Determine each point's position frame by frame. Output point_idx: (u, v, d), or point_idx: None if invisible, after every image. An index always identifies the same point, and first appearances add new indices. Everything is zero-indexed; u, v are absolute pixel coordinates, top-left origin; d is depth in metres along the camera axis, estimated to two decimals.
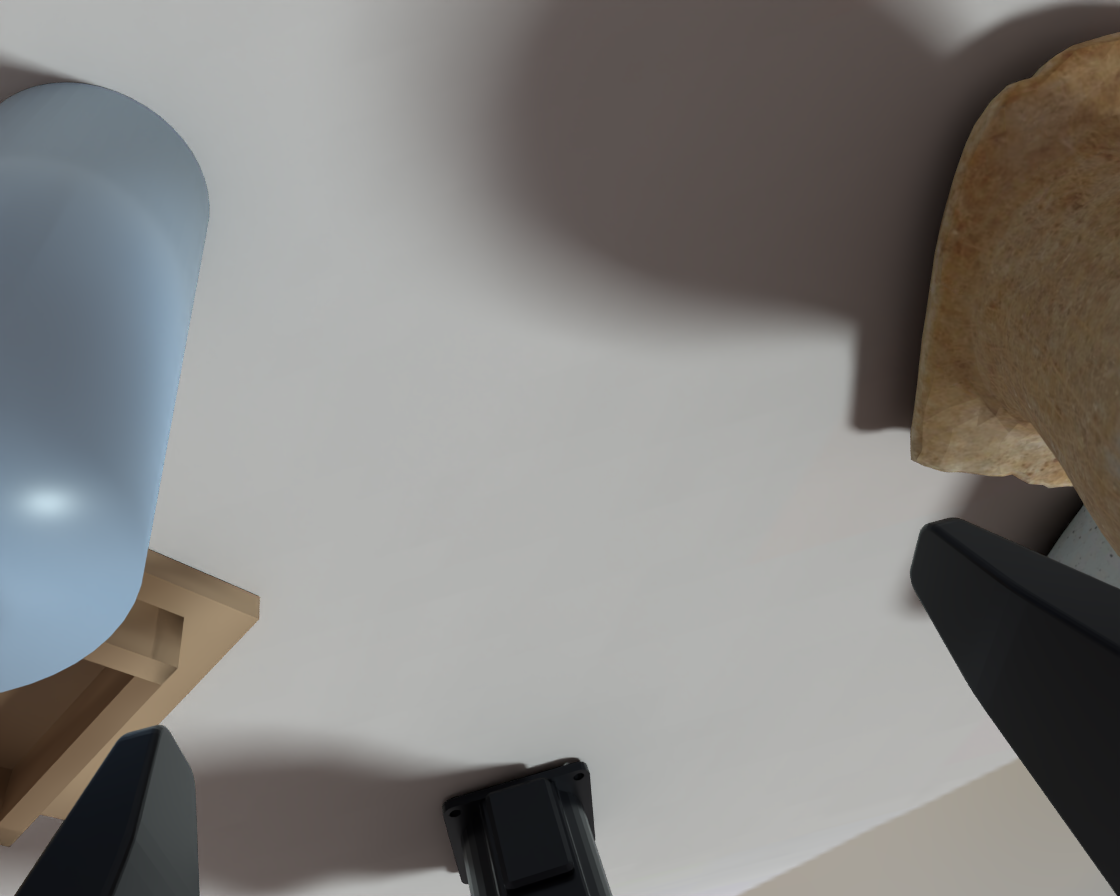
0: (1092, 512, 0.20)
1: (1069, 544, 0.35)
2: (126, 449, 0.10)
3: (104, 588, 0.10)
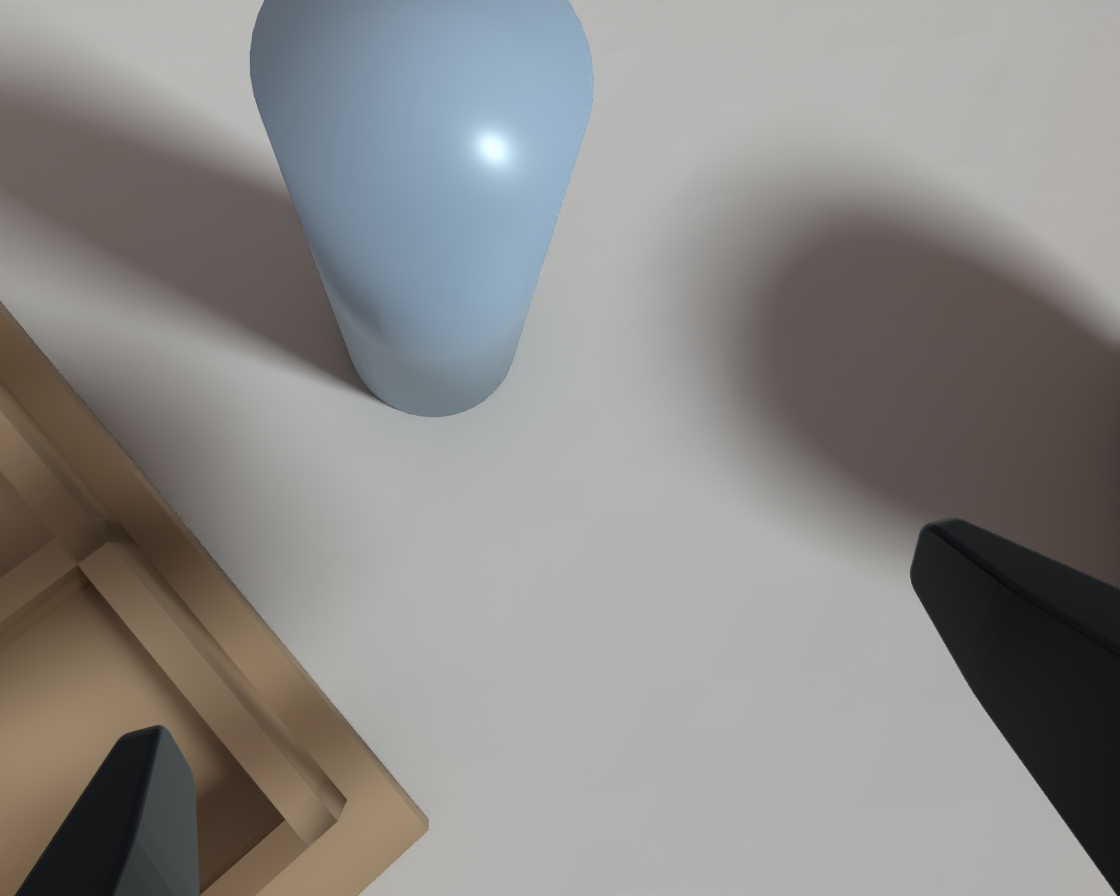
0: None
1: None
2: None
3: (545, 147, 0.12)
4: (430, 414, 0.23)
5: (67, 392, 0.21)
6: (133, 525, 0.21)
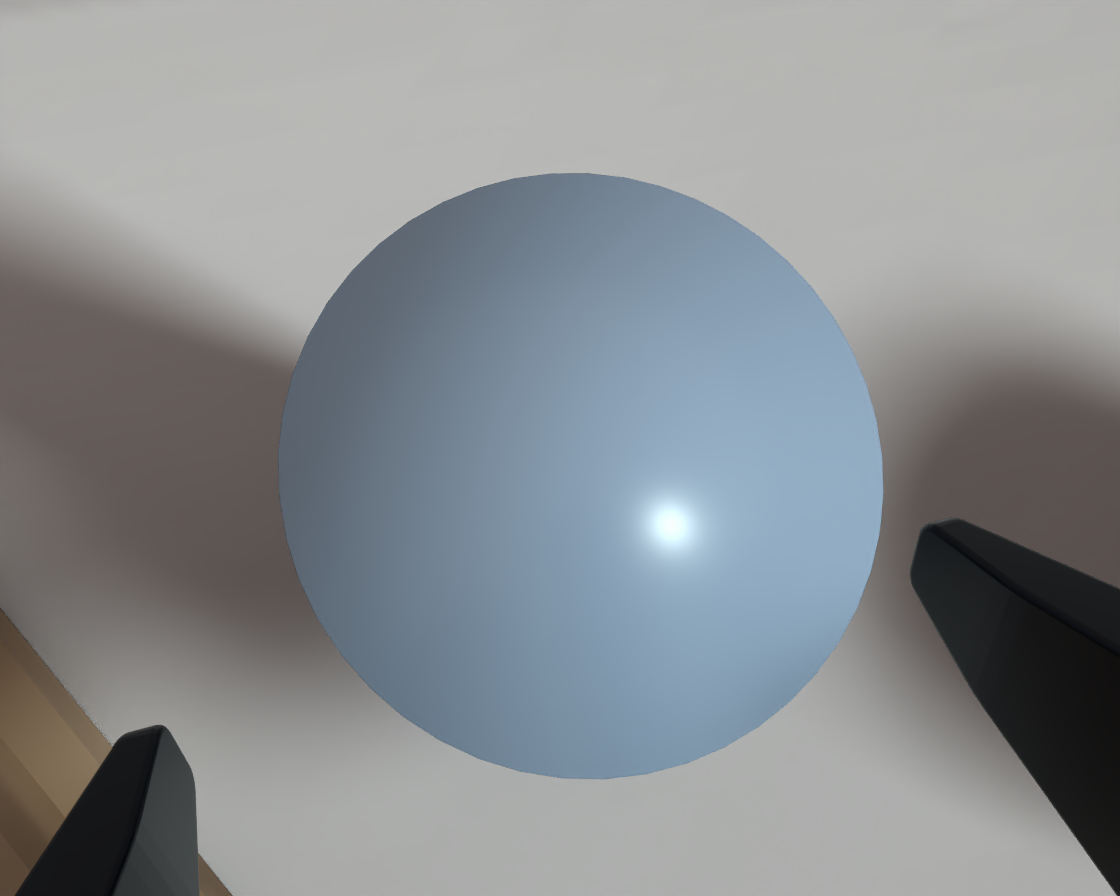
0: None
1: None
2: None
3: (808, 597, 0.07)
4: None
5: (20, 663, 0.16)
6: None
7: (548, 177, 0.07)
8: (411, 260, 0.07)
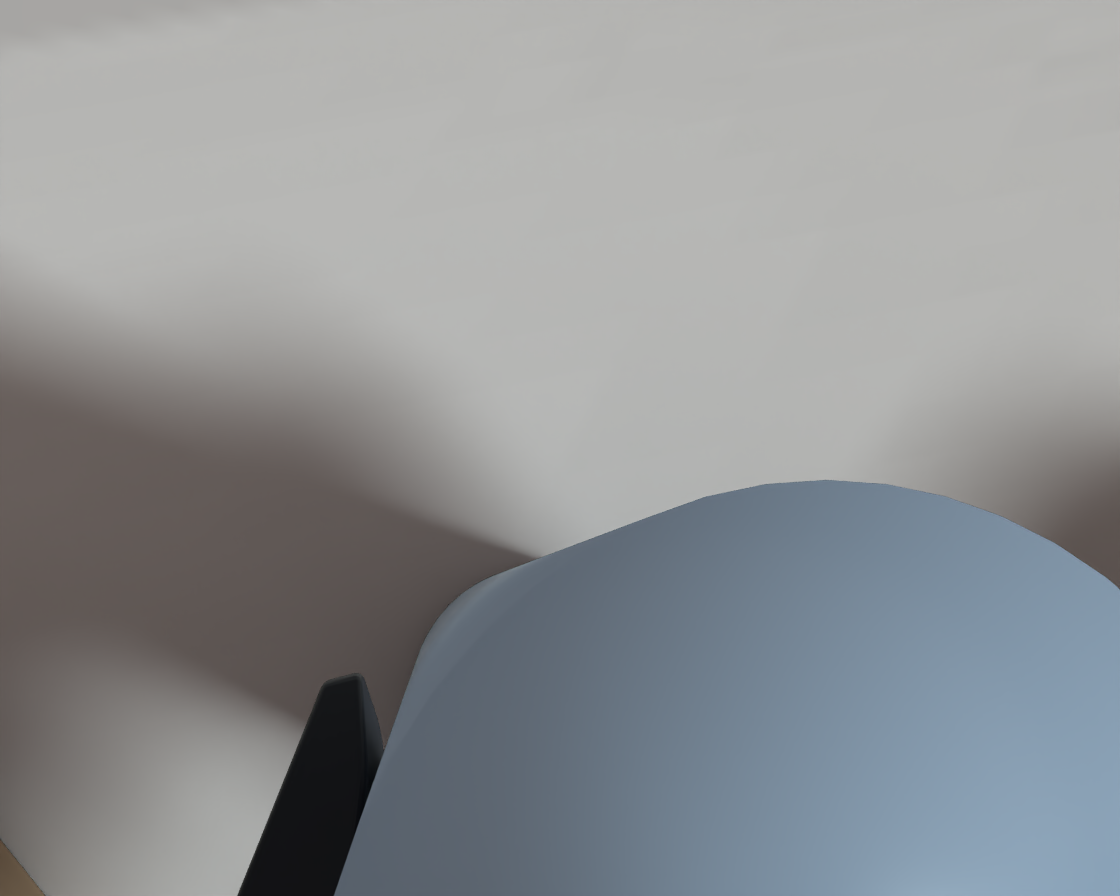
0: None
1: None
2: None
3: None
4: None
5: None
6: None
7: (756, 486, 0.04)
8: (537, 666, 0.04)
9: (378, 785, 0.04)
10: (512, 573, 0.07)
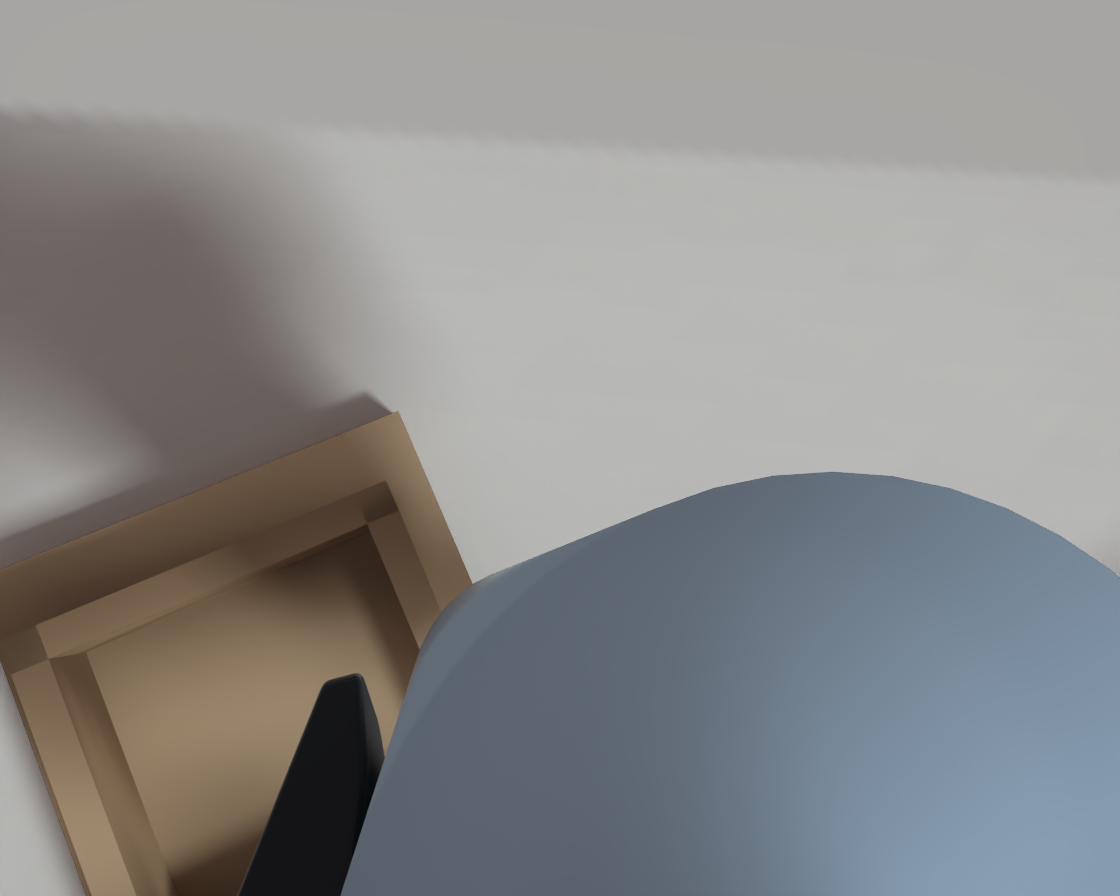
0: None
1: None
2: None
3: None
4: None
5: None
6: None
7: (764, 478, 0.04)
8: (544, 653, 0.04)
9: (388, 773, 0.04)
10: (515, 568, 0.08)
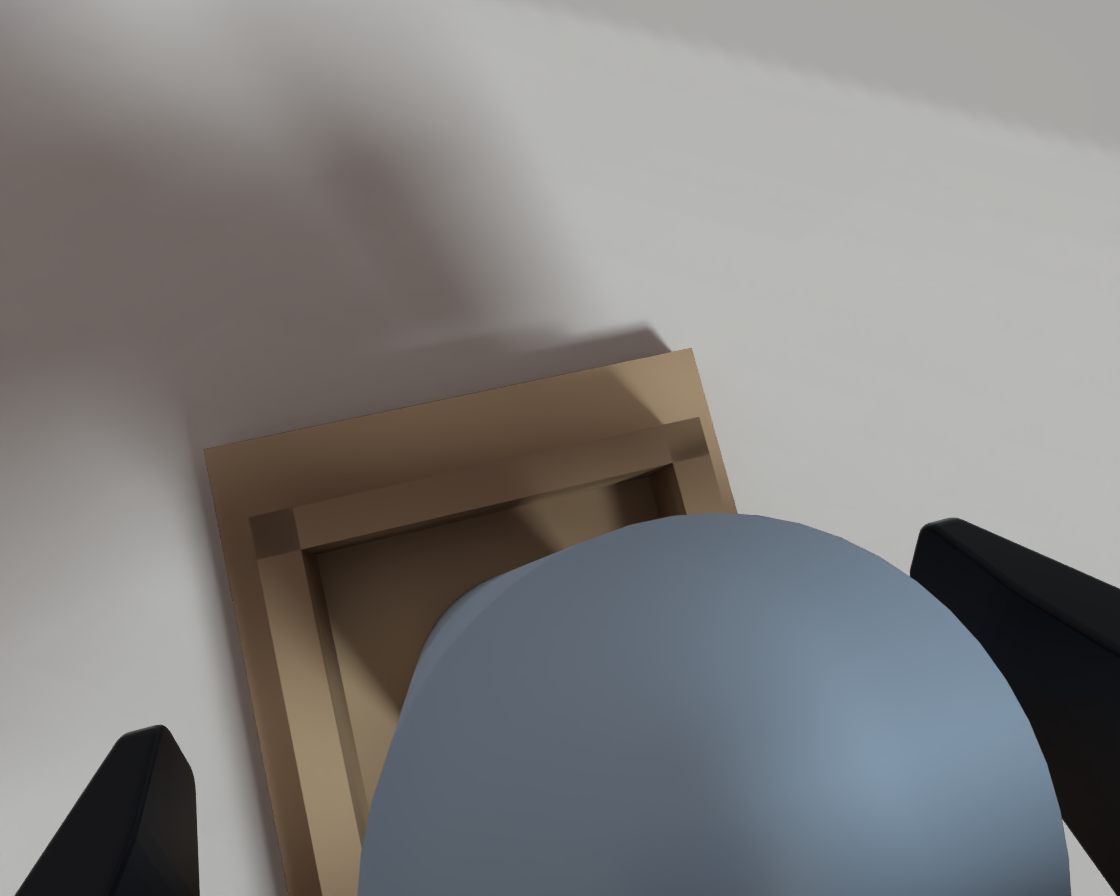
0: None
1: None
2: None
3: None
4: None
5: None
6: None
7: (667, 518, 0.06)
8: (509, 639, 0.05)
9: (402, 722, 0.05)
10: (501, 577, 0.09)
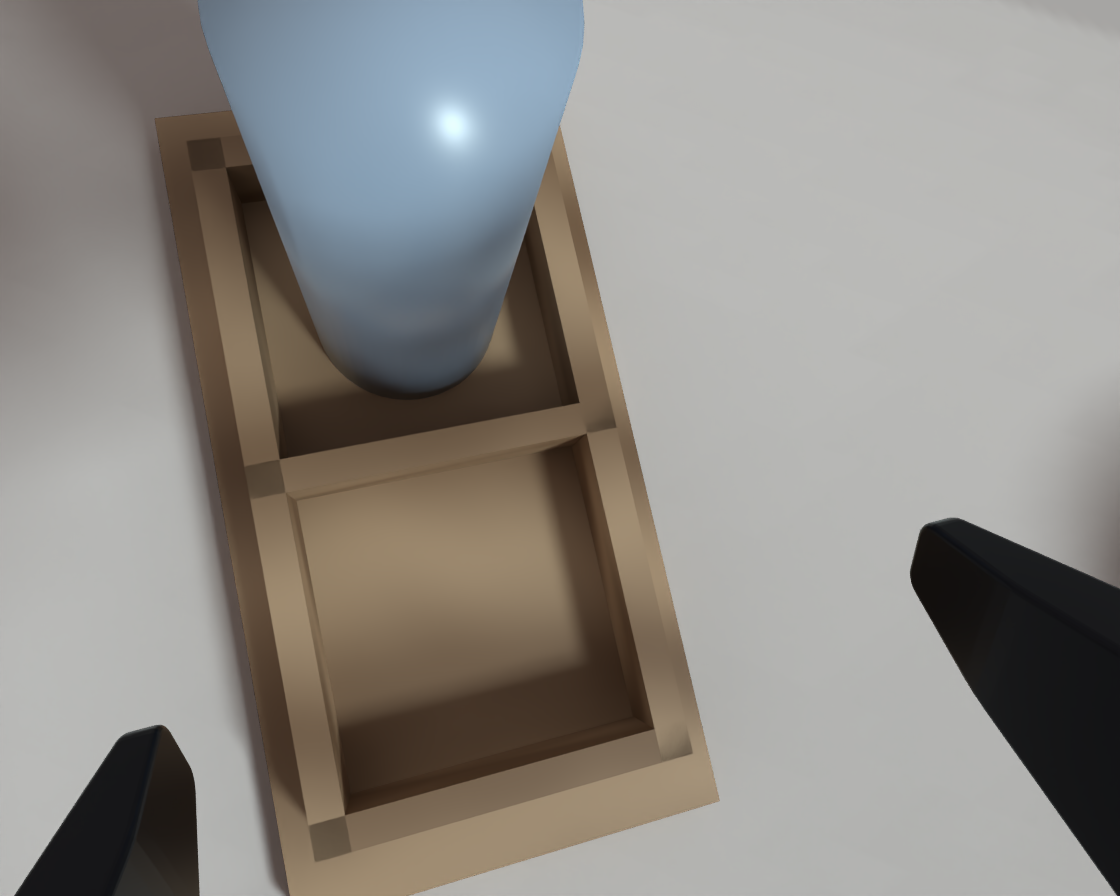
0: None
1: None
2: None
3: (529, 96, 0.11)
4: (401, 397, 0.22)
5: (597, 289, 0.24)
6: None
7: None
8: None
9: None
10: None
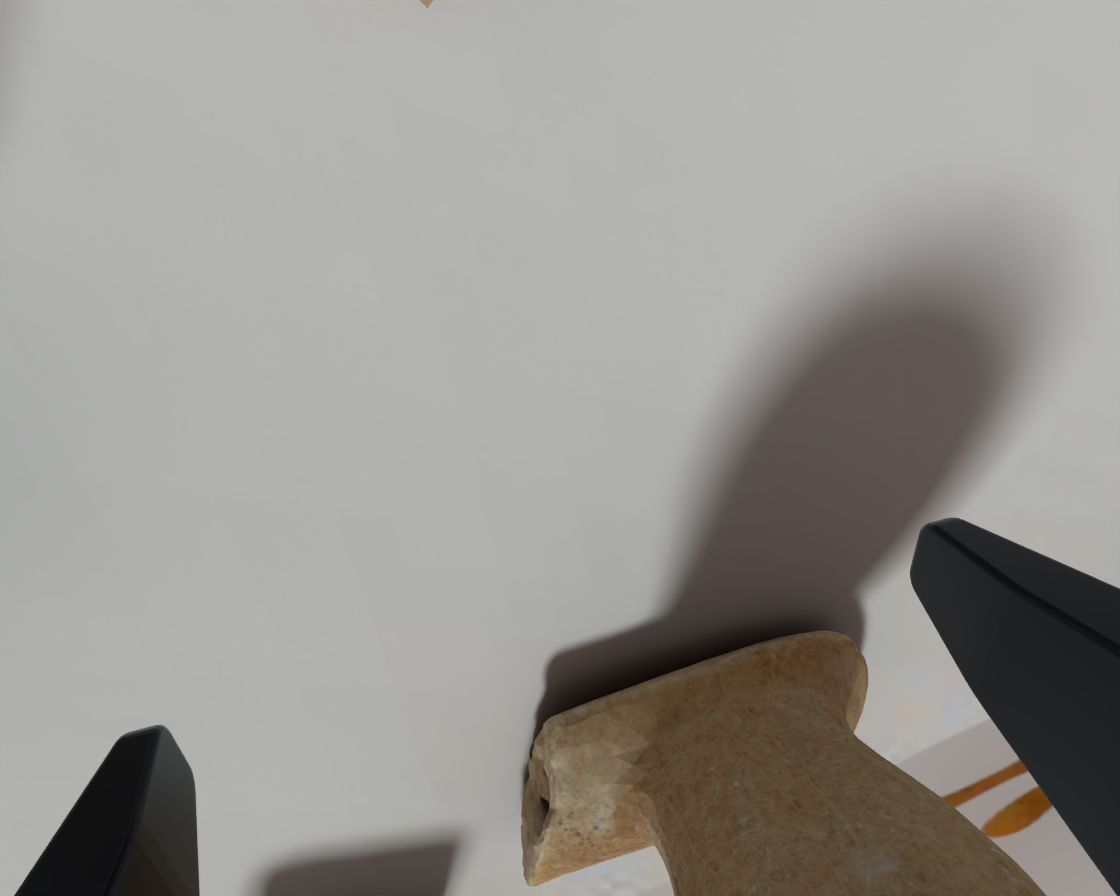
0: (778, 882, 0.23)
1: None
2: None
3: None
4: None
5: None
6: None
7: None
8: None
9: None
10: None
